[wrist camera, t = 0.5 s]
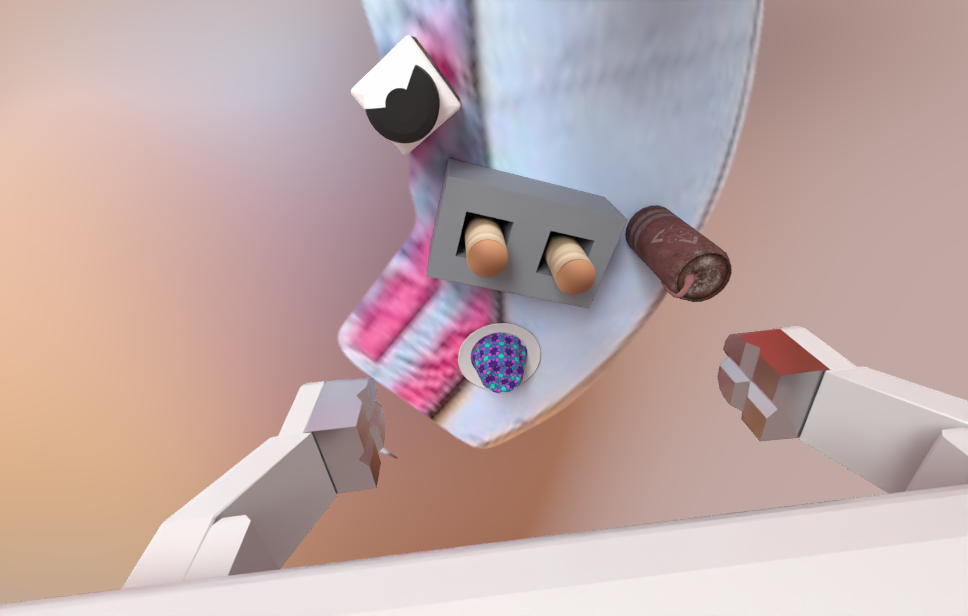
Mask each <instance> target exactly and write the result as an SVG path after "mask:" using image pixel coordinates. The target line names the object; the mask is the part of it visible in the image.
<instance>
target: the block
mask: <svg viewBox="0 0 968 616" xmlns="http://www.w3.org/2000/svg"><path fill="white" fill-rule="evenodd" d="M466 211H467V212H471V213H476V214H480V215H484V216H489V217H493V218H497V219H500V220H499V223H500V226H501V230H502V233H503V237H504V240H505V244H506V247H507V251H508V256H509V258H508V263H507V265H506V267H505V269H504V270H503V271H502V272H501V273H500V274H498V275H496V276H494V277H481V276H478V275H476V274H475V273H474V272H472V271H471V269H470V268H469V266H468V264H467V259H466V246H465V234H464V231H462V227H463V223H464V219H465V215H466ZM626 222H627V218H625V217H624V216H623V215H622V214H621V213H620V212H619V211H618V210H617V209H616V208H615V207H614V206H613V205H612V204H611V203H610V202H609V201H608V200H607V199H606V198H605V197H602V196H598V195H594V194H590V193H586V192H582V191H578V190H574V189H570V188H566V187H562V186H558V185H554V184H550V183H546V182H542V181H538V180H534V179H530V178H526V177H522V176H518V175H514V174H510V173H506V172H502V171H498V170H494V169H490V168H486V167H482V166H478V165H474V164H470V163H466V162H462V161H458V160H454V159H450V158H448V162H447V167H446V172H445V177H444V181H443V186H442V191H441V196H440V201H439V205H438V210H437V215H436V220H435V224H434V229H433V234H432V239H431V244H430V249H429V259H428V269H427V276H428V277H433V278H438V279H443V280H448V281H453V282H458V283H463V284H468V285H473V286H478V287H483V288H488V289H493V290H498V291H504V292H509V293H514V294H519V295H524V296H529V297H534V298H539V299H544V300H549V301H554V302H559V303H564V304H569V305H575V306H580V307H585V308H589V306H590V304H591V302H592V300H593V297H594V295H595V293H596V290H597V288H598V286H599V284H600V281H601V279H602V277H603V274H604V272H605V270H606V268H607V265H608V263H609V261H610V258H611V256H612V254H613V252H614V249H615V247H616V245H617V242H618V240H619V238H620V236H621V233H622V231H623V229H624V226H625V224H626ZM550 231H554V232H559V233H563V234H567V235H572V236H574V237H575V239H576V240H577V242H578V243H579V245H580V246H581V248H582V249H583V251H584V252H585V254H586V255H587V257H588V258H589V260H590V261H591V263H592V264H593V266H594V268H595V271H596V276H595V281H594V283H593V285H592V286H591V287H590V288H589V289H588V290H587V291H585V292H584V293H581V294H578V295H569V294H566V293H564V292H562V291H561V290H560V289H559V288H558V286H557V284H556V282H555V280H554V278H553V276H552V273H551V271H550V269H549V267H548V265H547V262H546V260H545V258H544V256H543V251H544V248H545V245H546V242H547V239H548V236H549V234H550Z"/></svg>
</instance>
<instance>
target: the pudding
mask: <svg viewBox="0 0 968 616" xmlns="http://www.w3.org/2000/svg"><path fill="white" fill-rule="evenodd" d="M498 332H504V333H510V334H513V335H515V336H513V335H512V336H506V335H505V334H504V333H498ZM492 333H496V334H493V335H492V336H491V337H490V338H485V337H484V336H486V335H489V334H492ZM516 336H517V337H516ZM483 337H484V338H483ZM481 338H482V339H481ZM519 338H520V339H521V340H522V341H523V342H524V344H525V345H526V347H525V346H523V345H521V343H520V339H519ZM480 339H481V340H480ZM478 341H479V342H478ZM476 342H478V343H477V348H476V349H474V350H473V351H472V348H473V346H474V345H475V344H476ZM526 348H527V349H526ZM471 351H472V353H471ZM527 353H528V355H527ZM470 355H471V358H472V360H473V362H474V367H475V369H476V370H475V369H474V367H473V366H472V363H471V359H470ZM526 356H527V360H526ZM540 356H541V353H540V347H539V344H538V342H537V340H536V338H535V337H534V336H533V335H532V334H531V333H530V332H528V331H527V330H526V329H524V328H522V327H520V326H516V325H513V324H507V323H498V324H491V325H488V326H484V327H482V328H480V329H478V330H476V331H475V332H473V333H472V334H470V335H469V336H468V337H467V338H466V339H465V341H464V342H463V344H462V345H461V348H460V350H459V354H458V363H459V367H460V370H461V372H462V373H463V375H464V376H465V377H466V378H467V379H468V380H469V381H470V382H472V383H473V384H475V385H477V386H479V387H482V388H486V389H491V390H492V391H493V392H496V393H500V392H502V391H504V392H510V391H512V390H513V389H514V387H516V386H519V385H520V384H521V383H523V382H524V381H526V380H527V379H528V378H529V377H531V375H532V374H533V373H534V372H535V370H536V369H537V367H538V364H539V362H540Z"/></svg>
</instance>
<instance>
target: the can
mask: <svg viewBox="0 0 968 616" xmlns="http://www.w3.org/2000/svg"><path fill="white" fill-rule="evenodd" d="M626 240H627V242H628V244H629V246H630V247H631V248H632V249H633V250H634V251H635V253H636V254H637V255H638V256H639V257H640V258H641V259H642V260H643V261H644V262H645V263H646V265H647V266H648V267H649V268H650V269H651V270H652V271H653V272H654V273H655V274H656V275H657V277H658V278H659V279H660V280H661V283H662V285H663V286H664V288H665V290H666V291H667V292H669V293H670V294H671V295H672V296H673V297H676V298H680V299H684V300H688V301H692V302H701V301H704V300H708V299H710V298H712V297H714V296H715V295H717V294H718V293H719V292H721V291H722V290H723V289H724V288H725V286H726V285H727V283H728V282H729V279H730V276H731V264H730V260H729V258H728V256H727V254H726V252H724V251H723V250H722V249H721V248H719V247H718V246H717V245H715V244H714V243H712V242H711V241H710V240H708V239H707V238H706V237H704V236H703V235H702V234H700V233H699V232H698V231H696V230H695V229H693V228H692V227H691V226H689V225H688V224H687V223H685V222H684V221H683V220H681V219H680V218H678V217H677V216H676V215H674V214H673V213H672V212H670V211H669V210H668V209H666V208H664V207H661V206H649V207H646V208H643V209H642V210H640V211H639V212H637V213H636V214H635V215H634V216H633V217H632V218H631V219H630V221H629V223H628V225H627V228H626Z"/></svg>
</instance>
